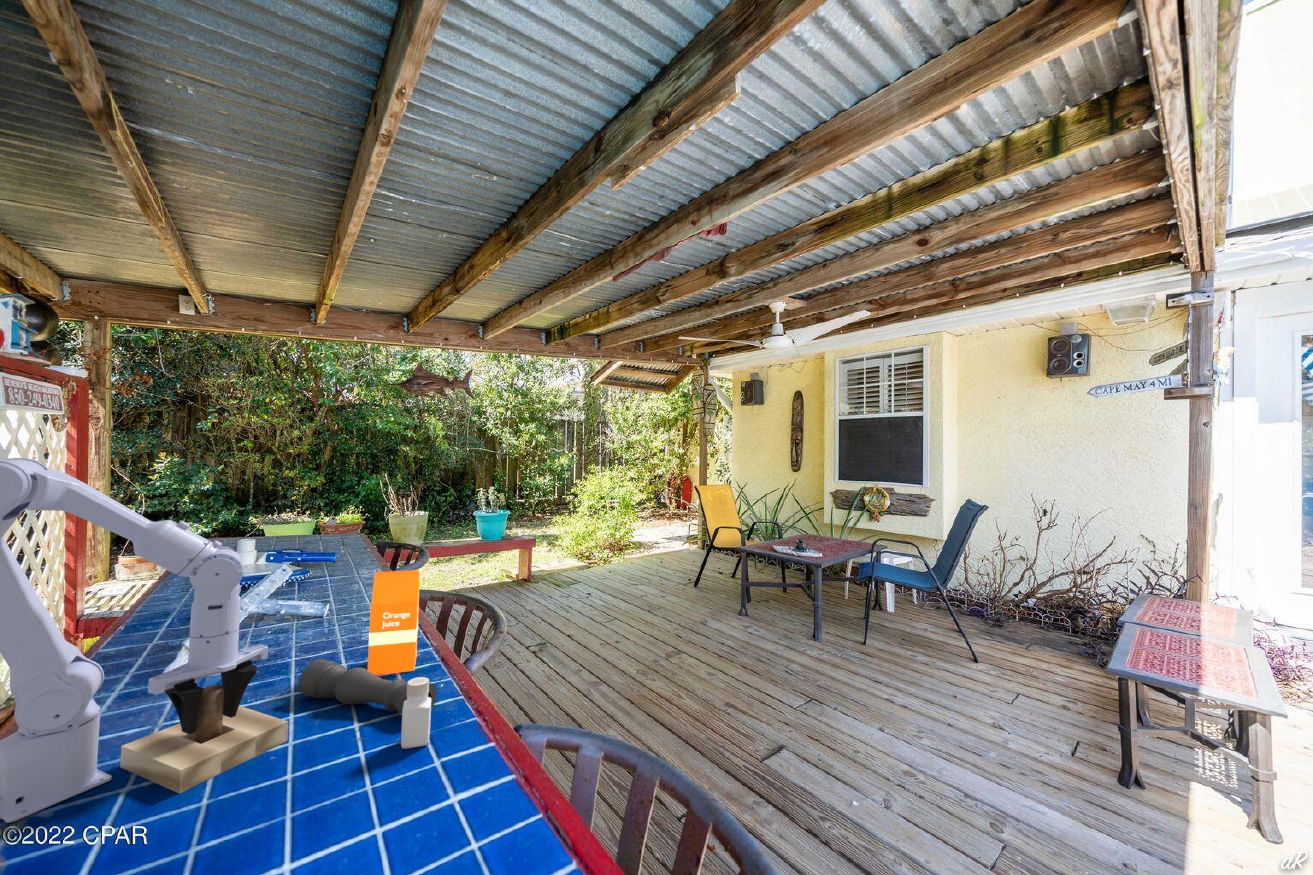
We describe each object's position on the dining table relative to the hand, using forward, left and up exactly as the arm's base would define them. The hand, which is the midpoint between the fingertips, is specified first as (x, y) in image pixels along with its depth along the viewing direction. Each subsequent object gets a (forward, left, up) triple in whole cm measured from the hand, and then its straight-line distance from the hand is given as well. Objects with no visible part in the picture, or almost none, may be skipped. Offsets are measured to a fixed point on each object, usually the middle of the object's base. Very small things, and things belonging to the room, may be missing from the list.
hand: (209, 723), depth 79 cm
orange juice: (+35, +2, -5) cm, 35 cm away
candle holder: (+19, +5, -1) cm, 20 cm away
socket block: (0, 0, -4) cm, 4 cm away
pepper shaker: (+15, -25, -5) cm, 30 cm away
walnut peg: (0, 0, -4) cm, 4 cm away
